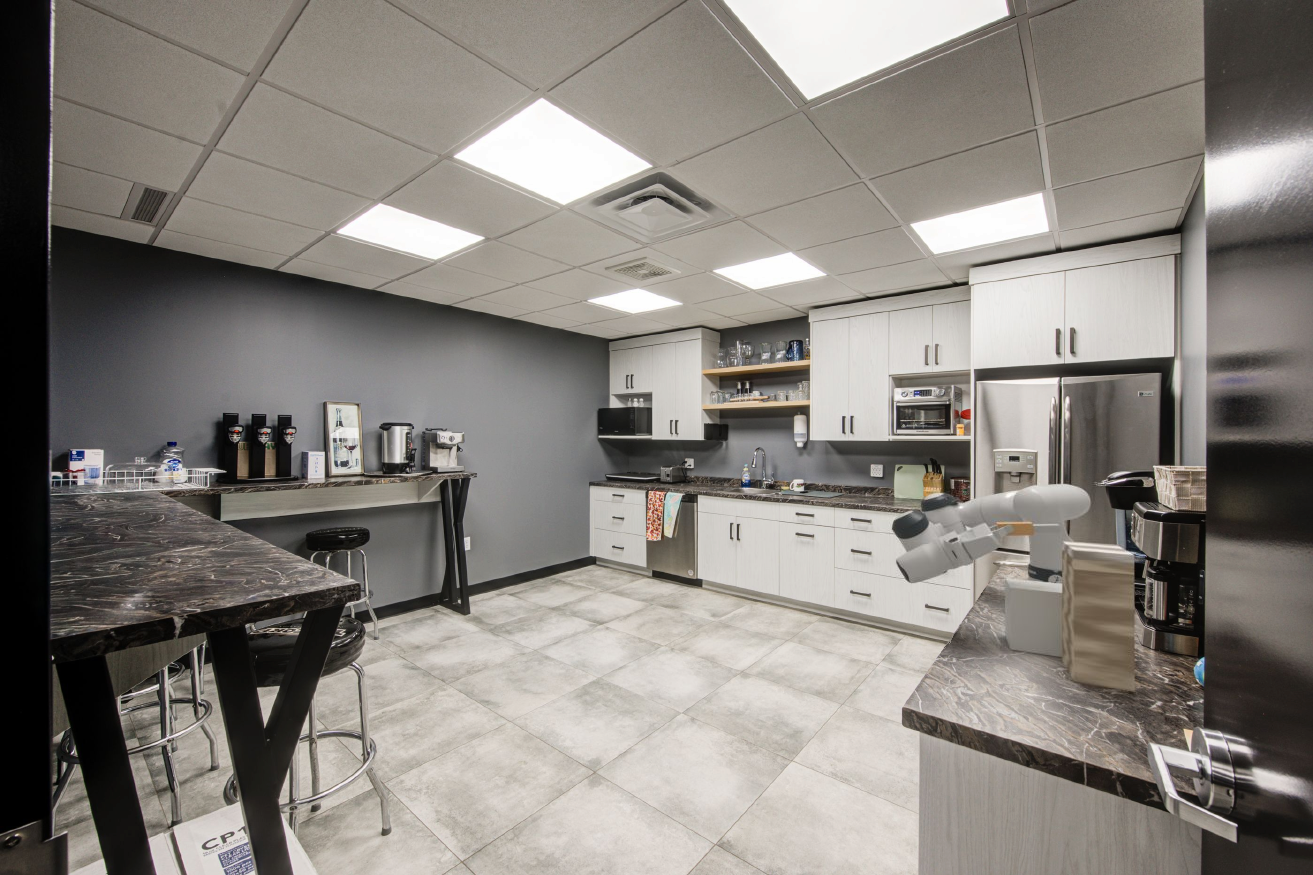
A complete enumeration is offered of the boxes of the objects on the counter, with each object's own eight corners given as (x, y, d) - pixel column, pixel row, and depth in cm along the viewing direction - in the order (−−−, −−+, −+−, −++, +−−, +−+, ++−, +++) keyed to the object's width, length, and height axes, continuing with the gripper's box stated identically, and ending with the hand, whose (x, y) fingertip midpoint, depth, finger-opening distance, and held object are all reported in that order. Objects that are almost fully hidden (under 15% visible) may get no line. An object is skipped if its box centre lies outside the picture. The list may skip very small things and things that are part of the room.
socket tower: (1062, 661, 126) (1062, 541, 127) (1116, 669, 122) (1116, 544, 122) (1074, 682, 116) (1074, 550, 116) (1134, 692, 111) (1134, 554, 111)
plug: (997, 533, 140) (996, 522, 141) (1058, 533, 135) (1056, 521, 135) (998, 535, 138) (997, 523, 138) (1060, 535, 132) (1059, 523, 132)
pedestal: (1005, 636, 143) (1005, 578, 143) (1070, 645, 136) (1070, 584, 136) (1010, 649, 134) (1010, 587, 134) (1080, 659, 127) (1080, 594, 127)
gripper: (962, 551, 152) (1012, 530, 146) (967, 567, 134) (1024, 543, 128) (949, 531, 153) (999, 509, 148) (952, 544, 135) (1009, 520, 130)
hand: (1011, 525), depth 138 cm, fingers closed on plug, 3 cm apart
